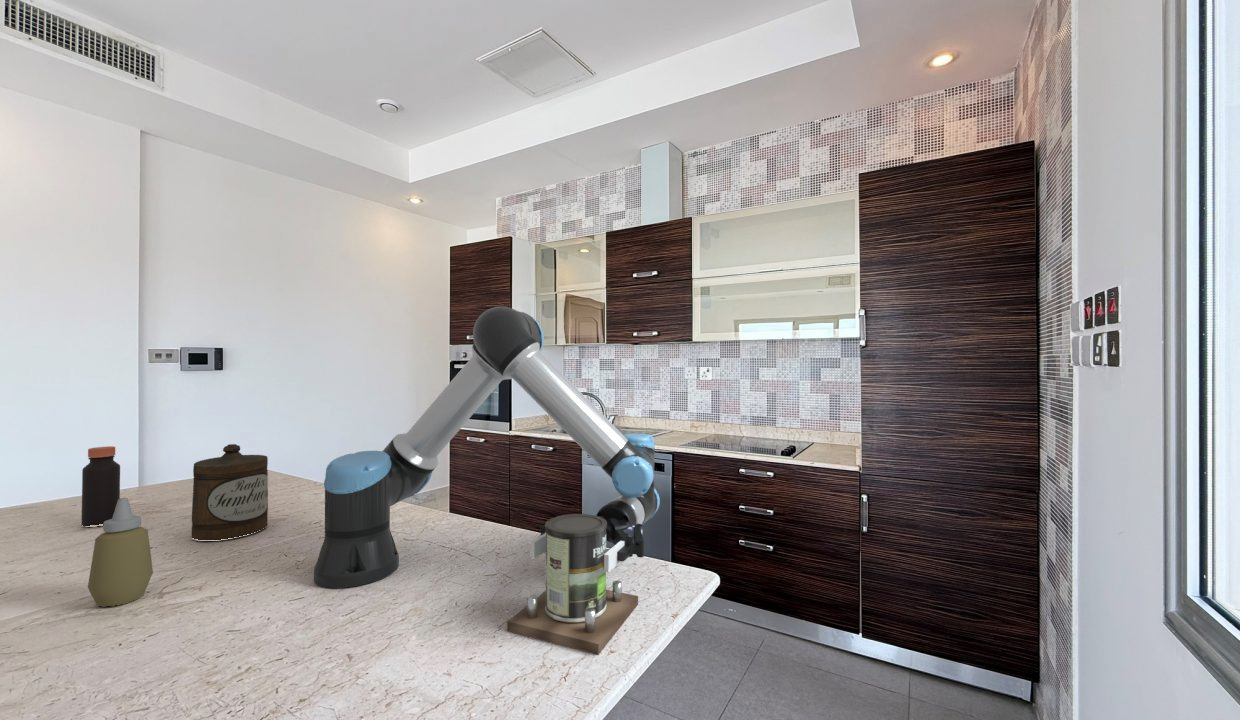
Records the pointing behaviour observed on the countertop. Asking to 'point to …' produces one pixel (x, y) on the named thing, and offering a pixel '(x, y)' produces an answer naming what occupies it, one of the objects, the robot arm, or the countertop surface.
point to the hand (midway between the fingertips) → (567, 556)
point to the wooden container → (229, 495)
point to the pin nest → (579, 634)
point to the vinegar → (100, 486)
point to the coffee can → (575, 566)
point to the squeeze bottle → (120, 559)
